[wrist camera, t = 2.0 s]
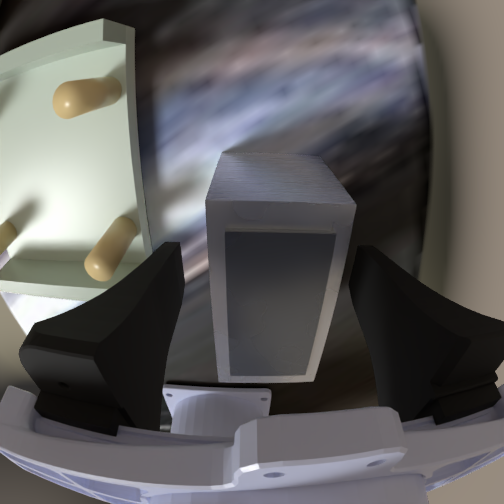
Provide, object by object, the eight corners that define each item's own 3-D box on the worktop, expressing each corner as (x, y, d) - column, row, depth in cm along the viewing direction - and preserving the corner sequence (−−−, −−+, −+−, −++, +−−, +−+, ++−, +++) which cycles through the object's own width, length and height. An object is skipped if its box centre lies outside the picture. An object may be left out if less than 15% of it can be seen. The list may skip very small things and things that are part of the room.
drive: (299, 302, 17) (314, 385, 12) (225, 301, 17) (218, 385, 12) (318, 155, 12) (358, 208, 8) (221, 151, 12) (204, 203, 8)
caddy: (154, 265, 15) (132, 321, 12) (23, 260, 15) (-12, 302, 12) (134, 28, 9) (88, 14, 6) (-15, 76, 9) (-69, 91, 6)
